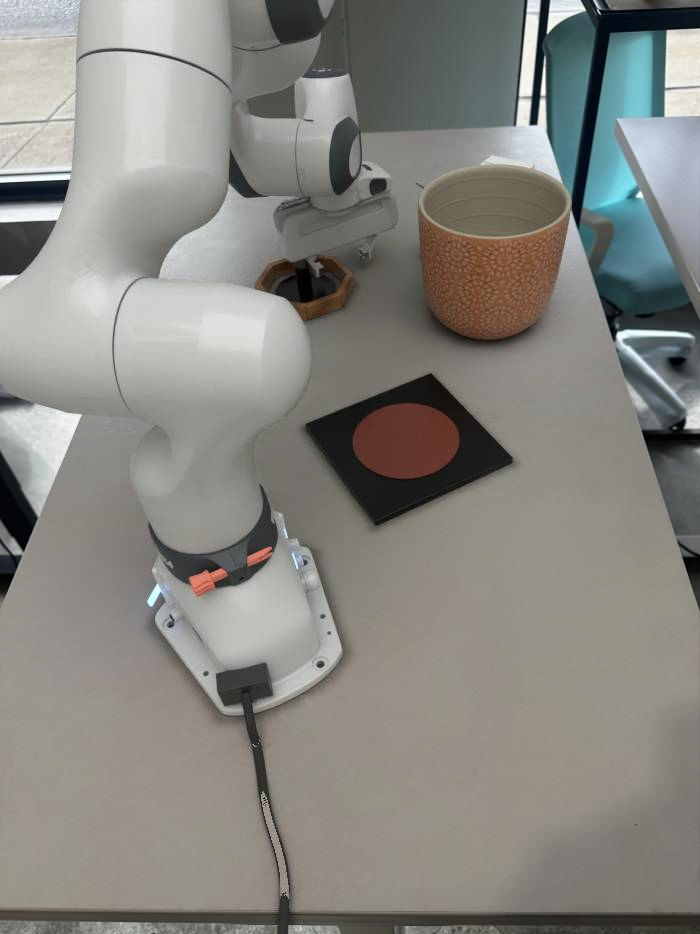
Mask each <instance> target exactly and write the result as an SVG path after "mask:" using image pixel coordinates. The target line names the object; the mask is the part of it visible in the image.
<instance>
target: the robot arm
mask: <svg viewBox="0 0 700 934" xmlns="http://www.w3.org/2000/svg"><path fill="white" fill-rule="evenodd" d="M334 3H335V0H80V1H79V9H78V15H77V16H78V17H77V18H78V19H77V31H76V47H75V48H76V51H75V53H76V54H75V104H74V128H73V146H72V160H71V171H70V176H69V183H68V187H67V191H66V195H65V198H64V202H63V205H62V207H61V210H60V212H59V216H58V218H57V220H56V221H55V224H54V226H53V229H52V231H51V233H50V234H49V236H48V238H47V240H46V242H45V243H44V245H43V246H42V248H41V249H40V251H39V252H38V254H37V255H36V257H34V259H33V260H32V261H31V263H30V264H29V265H28V266H27V267H26V268H25V269H24V270H23V271H22V272H21V273H20V274H19V275H17V276H16V277H15V278H13V279H12V280H10V282H8V283H6V284H5V285H4V286H2V287H1V288H0V385H1V387H2V388H4V389H5V390H6V392H7V393H9V394H11V395H12V396H14V397H16V398H19V399H20V400H21V399H22V400H24V401H26V402H27V401H28V402H31V403H33V404H36V405H39V406H43V407H46V408H50V409H52V410H55V411H60V412H63V413H67V414H72V415H84V416H96V417H107V418H108V417H109V418H116V419H127V420H128V419H129V420H141V421H142V422H147V423H151V424H155V425H153V427H151V428H150V429H149V430H148V431H147V432H146V433H145V434H144V435H142V436H141V438H140V439H139V441H138V442H137V444H136V445H135V447H134V449H133V452H132V455H131V459H130V466H129V478H130V483H131V486H132V488H133V490H134V492H135V494H136V497H137V499H138V501H139V503H140V505H141V508H142V509H143V512H144V514H145V516H146V518H147V520H148V521H147V524H148V526H147V527H148V531H149V535H150V538H151V542H152V544H153V547H154V548H155V551H156V553H157V557H156V559H155V561H154V564H153V566H152V569H151V573H152V576H153V578H154V580H155V582H156V585H155V587H154V588H153V591H152V592H151V593H150V596H149V597H148V600H146V601H147V604H148V605H149V607H153V606H154V604H155V602H156V600H157V598H158V597H159V595H160V593H161V595H162V596H163V599H164V603H162V605H161V606H160V608H159V609H158V610H157V612H156V614H155V616H154V622H155V626H156V628H157V629H158V631H159V632H160V633H161V635H162V636H163V638H164V639H165V640H166V642H167V643H168V644H169V646H170V647H171V648H172V650H173V651H174V652H175V653H176V655H177V657H178V658H179V659H180V661H181V662H182V663H183V664H184V665H185V667H186V668H187V670H188V671H189V672H190V673H191V675H192V676H193V678H194V679H195V680H196V682H197V683H198V684H199V686H200V688H202V690H203V691H204V692H205V694H206V695H207V696H208V698H209V699H210V700H211V702H212V703H213V704H214V706H215V707H216V708H217V710H218V712H220V713H221V714H223V715H224V716H235V717H238V716H239V717H240V716H244V722H245V727H246V731H247V734H248V735H247V736H248V738H249V741H250V745H251V750H252V755H253V760H254V768H255V775H256V776H255V777H256V784H257V792H258V798H259V803H260V804H259V805H260V809H261V814H262V818H263V822H264V826H265V830H266V832H267V836H268V838H269V842H270V845H271V848H272V852H273V855H274V858H275V864H276V869H277V876H278V884H279V888H280V872H279V866H278V861H277V857H276V853H275V849H274V846H273V843H272V840H271V836H270V833H269V830H268V827H267V824H266V820H265V816H264V812H263V807H262V801H261V794H262V792H263V791H264V793H265V795H266V797H267V800H268V804H269V808H270V812H271V816H272V820H273V823H274V826H275V829H276V832H277V835H278V838H279V842H280V845H281V848H282V852H283V856H284V860H285V865H286V872H287V878H288V885H289V894H290V895H291V880H290V871H289V865H288V861H287V855H286V852H285V848H284V844H283V842H282V838H281V835H280V832H279V829H278V825H277V823H276V820H275V817H274V812H273V809H272V803H271V798H270V793H269V792H270V791H269V786H268V778H267V771H266V764H265V758H264V757H265V756H264V752H263V747H262V742H261V738H260V735H259V732H258V728H257V723H256V719H255V714H257V713H262V712H263V711H267V710H270V709H273V708H275V707H277V706H280V705H282V704H284V703H286V702H288V701H291V700H293V699H294V698H296V697H298V696H300V695H301V694H303V693H305V692H307V691H308V690H310V689H311V688H313V687H314V686H316V685H317V684H319V683H320V682H321V681H322V680H323V679H325V678H326V677H327V676H328V675H329V674H330V673H332V671H333V670H334V669H335V667H336V666H337V665H338V664H339V662H340V661H341V659H342V658H343V656H344V649H343V644H342V642H341V639H340V635H339V633H338V629H337V627H336V623H335V620H334V617H333V613H332V611H331V608H330V605H329V602H328V598H327V595H326V592H325V589H324V587H323V584H322V581H321V577H320V574H319V571H318V568H317V565H316V562H315V559H314V556H313V553H312V551H311V550H310V548H308V547H306V546H302V545H300V541H299V538H298V537H293V538H290V539H289V536H288V532H287V528H286V523H285V518H284V514H283V513H282V512H278V510H273V506H272V504H271V502H270V498H269V497H268V495H267V493H266V491H265V489H264V487H263V485H262V483H260V481H259V478H258V473H257V468H256V462H255V461H256V460H255V455H254V445H255V442H256V440H257V439H258V437H259V436H260V435H261V434H262V433H263V432H264V431H265V430H266V429H268V428H270V427H272V425H275V424H277V423H279V422H281V421H283V420H284V419H285V418H286V417H287V416H289V415H290V414H291V413H292V412H293V411H294V410H295V409H296V408H297V406H298V404H300V402H301V400H302V398H303V397H304V395H305V393H306V391H307V388H308V385H309V382H310V379H311V374H312V367H313V350H312V349H313V348H312V343H311V339H310V334H309V333H308V330H307V327H306V324H305V322H304V320H302V319H301V317H300V315H299V314H298V312H297V311H296V309H295V308H294V307H293V306H292V304H291V303H290V302H289V301H288V300H287V299H285V298H283V297H280V296H277V295H275V294H273V293H269V292H268V291H267V292H268V293H267V292H263V291H260V290H256V289H255V288H252V287H248V286H244V285H241V284H236V283H233V282H228V281H214V280H213V281H212V280H198V279H197V280H195V279H179V278H160V273H161V270H162V266H163V264H164V261H165V259H166V258H167V256H168V254H169V253H170V251H171V250H172V248H173V247H174V246H175V245H176V244H177V243H178V242H179V241H180V240H181V239H182V238H184V237H185V236H186V235H188V234H190V233H193V232H194V231H196V230H199V229H201V228H202V227H204V226H205V225H207V224H209V223H210V222H211V221H212V220H213V219H214V218H215V217H216V216H217V214H218V213H219V212H220V210H221V209H222V207H223V205H224V203H225V201H226V198H227V195H228V192H229V185H230V187H231V188H232V189H233V190H234V191H235V192H236V193H238V194H239V195H240V196H241V197H242V198H244V199H256V198H268V197H293V198H290V199H285V200H282V201H281V202H279V205H278V206H276V207H275V209H274V210H273V213H272V219H273V222H274V227H275V229H276V240H277V243H276V244H277V250H278V252H279V254H280V255H281V257H282V258H283V259H284V258H285V259H286V260H288V261H289V262H291V263H293V262H296V261H299V260H302V259H306V260H307V261H308V262H309V263H310V265H311V266H312V270H311V273H313V275H314V276H315V277H316V278H319V277H322V276H324V275H325V276H326V273H325V271H324V266H323V265H321V263H320V262H317V263H315V262H314V261H313V260H316V255H317V254H318V255H321V254H322V253H325V252H328V251H331V250H335V249H337V248H340V247H343V246H346V245H348V244H352V243H354V242H358V241H361V240H364V242H363V245H362V246H361V247H359V248H358V256H359V259H360V260H361V261H362V262H363V263H364V262H367V261H370V260H372V259H373V257H372V251H373V249H374V246H375V244H376V242H377V240H378V237H377V236H378V234H382V233H384V232H388V231H390V230H394V229H395V228H396V226H397V224H398V222H399V209H398V201H397V196H396V193H395V192H394V191H393V190H392V188H393V178H392V176H391V175H390V174H389V173H388V172H387V171H386V170H384V169H383V168H382V167H381V166H379V165H378V164H376V163H374V162H373V161H367V160H365V161H364V160H363V147H362V146H363V144H362V134H361V133H362V132H361V129H360V128H359V117H358V110H357V104H356V98H355V93H354V88H353V83H352V80H351V77H350V74H349V72H347V71H346V70H344V69H342V68H339V67H329V66H328V67H327V66H324V67H319V66H318V67H311V66H312V64H313V62H314V60H315V58H316V56H317V53H318V51H319V48H320V44H321V37H322V31H323V30H324V29H325V27H326V26H327V25H328V23H329V22H330V20H331V17H332V15H333V11H334ZM310 67H311V68H310ZM292 85H294V110H295V111H294V112H295V113H294V114H295V118H289V117H288V118H287V117H286V118H285V117H284V118H283V117H281V118H278V117H277V118H275V117H274V118H272V117H271V118H269V117H261V116H256V115H253V114H251V113H250V109H249V104H248V100H249V99H252V98H255V97H259V96H264V95H267V94H271V93H276V92H281V91H284V90H285V89H287V88H289V87H291V86H292ZM170 626H171V627H170ZM320 665H323V666H322V667H318V666H320ZM259 740H260V742H259ZM251 743H252V744H254V745H255V746H257V747H254V746H253V745H252V744H251ZM258 743H259V744H258ZM263 799H265V797H264V798H263ZM264 801H266V799H265V800H264ZM265 803H267V802H265ZM265 803H264V804H265ZM264 804H263V805H264ZM265 806H266V805H265ZM281 894H282V893H281ZM284 894H286V892H285V893H283V894H282V896H281V899H280V898H279V901H280V902H278V915H277V927H276V928H277V929H276V934H289V925H290V924H289V923H290V910H291V907H290V908H289V899H288V897H287V896H286V895H285V896H284Z"/></svg>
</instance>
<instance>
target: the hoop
mask: <svg viewBox="0 0 700 934" xmlns="http://www.w3.org/2000/svg"><path fill="white" fill-rule="evenodd" d="M299 261H306V262H308V261H307V260H306V259H302V260H299ZM299 261H296V262H293V263H291V262H289V261H288V260H286V259H285V258H284V257H283V258H281V259H279V260H275V261H272V262H270V263H268V264H267V265H266V267H265V268H264V269H263V270H262V272H261V274H260V275H259V277H258V278H257V279H256V280H255V282H254V289H256V290H260V291H263V292H267V293H269V291H268V290H269V289H270V288H271V286H272V284H273V283H274V281H275V280H276V279H278V278H281V277H285V276H287V275H291V274H293V273H295V268H294V265H295V263H297V262H299ZM313 261H314V262H315V263H317V262H320V263H321V265H323V266H324V272H329V273H334V274H335V276H337V278H338V279H339V280H340V281H341V283H340V285H339V287H338V288H337V289H336V292H335V293H334V294H331V295H328V296H325V297H323V298H320V299H317V300H314V301H311V302H309V303H299V302H291V301H289V302H290V303H291V304H292V306H293V307H294V308H295V309H296V311H297V312H298V314H299V315H300V317H301V319H302V320H303V321H310V320H313V319H316V318H318V317H322V316H324V315H327V314H330V313H332V312H335V311H338V310H341V309H342V308H344V306H345V305H346V303H347V301H348V300H349V297H350V295H351V293H352V292H353V290H354V288H355V284H354V283H355V282H354V273H353V272H352V270H350V269H349V267H348V266H346V265H345V264H344V263H343V261H341V259H339V258H338V257H337V256H335V255H325V254H317V255H316V260H313ZM308 263H309V262H308ZM309 267H310V271H312V266H311V265H310V263H309Z"/></svg>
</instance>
